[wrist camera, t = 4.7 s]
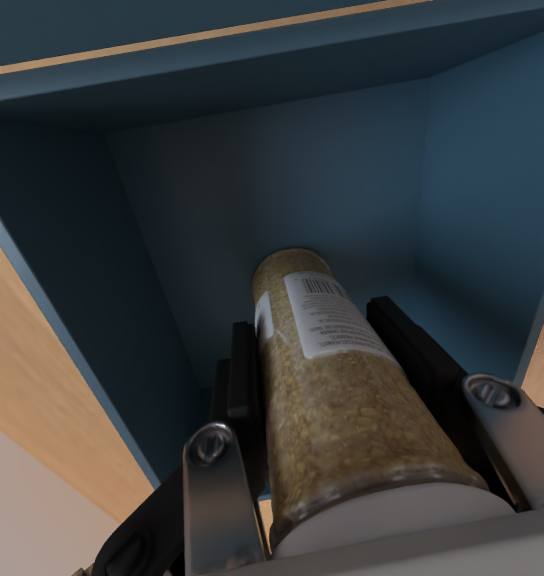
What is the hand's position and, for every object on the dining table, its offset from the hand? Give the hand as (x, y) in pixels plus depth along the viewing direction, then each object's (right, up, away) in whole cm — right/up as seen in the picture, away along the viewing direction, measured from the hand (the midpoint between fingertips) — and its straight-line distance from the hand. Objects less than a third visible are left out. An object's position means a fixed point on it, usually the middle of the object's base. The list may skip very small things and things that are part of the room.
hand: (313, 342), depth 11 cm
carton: (-1, +3, +5) cm, 6 cm away
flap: (-1, +6, -10) cm, 12 cm away
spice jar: (0, +2, +5) cm, 6 cm away
